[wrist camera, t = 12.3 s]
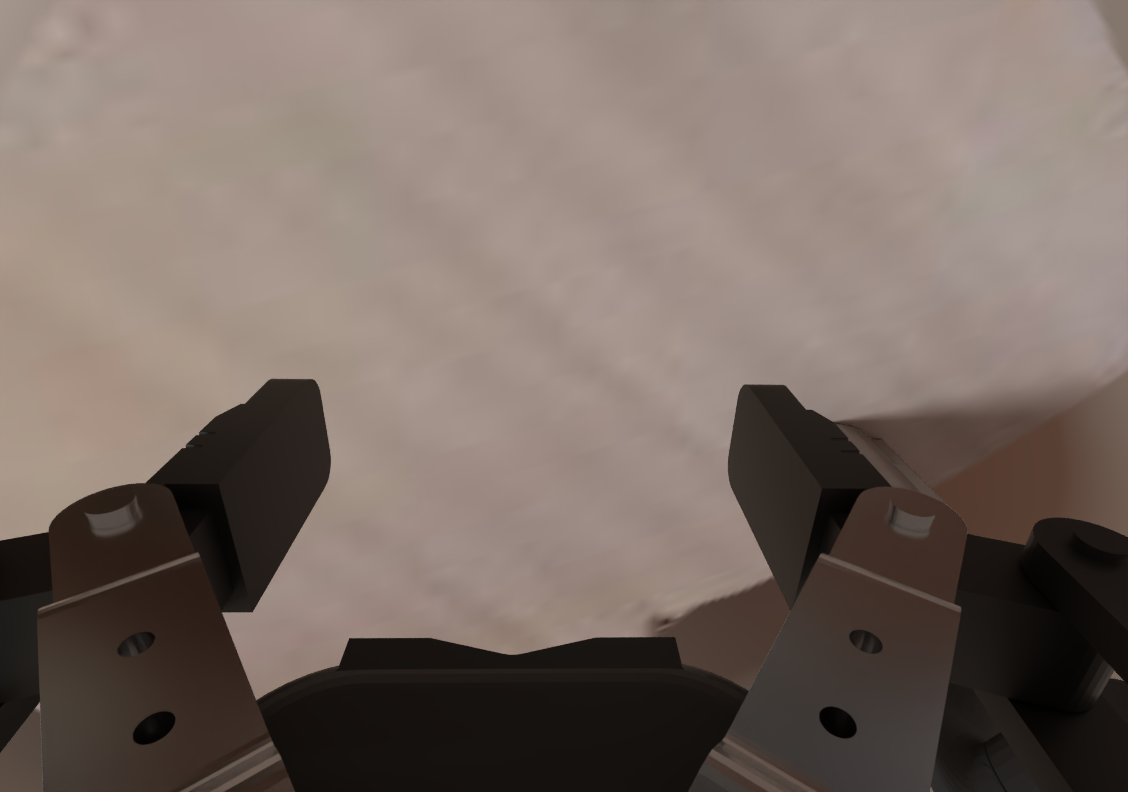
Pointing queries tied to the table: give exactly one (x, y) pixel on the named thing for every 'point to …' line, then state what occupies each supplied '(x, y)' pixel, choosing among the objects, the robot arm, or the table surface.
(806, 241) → the table surface
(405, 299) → the table surface
